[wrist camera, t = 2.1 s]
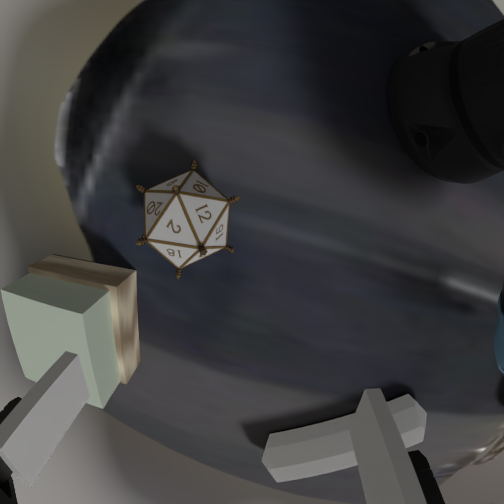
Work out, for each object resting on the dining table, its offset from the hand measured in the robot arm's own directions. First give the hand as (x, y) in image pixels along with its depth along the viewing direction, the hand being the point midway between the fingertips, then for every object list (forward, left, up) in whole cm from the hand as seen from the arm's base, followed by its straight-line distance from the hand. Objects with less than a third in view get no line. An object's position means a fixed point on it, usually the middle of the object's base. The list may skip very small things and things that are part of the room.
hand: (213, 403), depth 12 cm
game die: (-5, -5, -18) cm, 20 cm away
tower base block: (+8, -17, -18) cm, 26 cm away
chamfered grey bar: (+22, +17, -19) cm, 34 cm away
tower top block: (+8, -17, -13) cm, 23 cm away
